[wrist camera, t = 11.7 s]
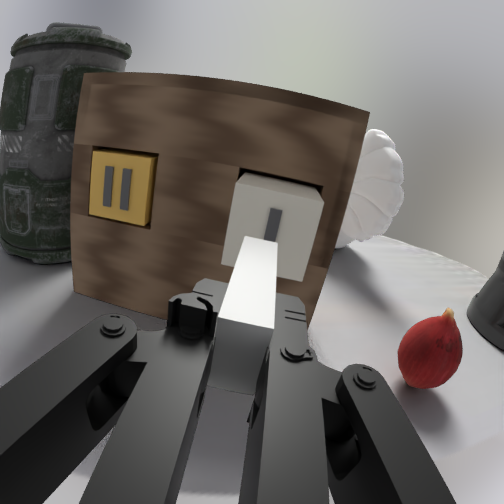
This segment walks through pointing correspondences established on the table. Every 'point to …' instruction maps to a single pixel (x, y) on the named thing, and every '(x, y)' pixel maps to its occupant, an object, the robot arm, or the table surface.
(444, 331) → the onion
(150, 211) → the button two
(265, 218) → the button one
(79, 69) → the canister
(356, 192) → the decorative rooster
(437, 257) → the table surface
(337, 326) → the table surface
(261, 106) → the console
